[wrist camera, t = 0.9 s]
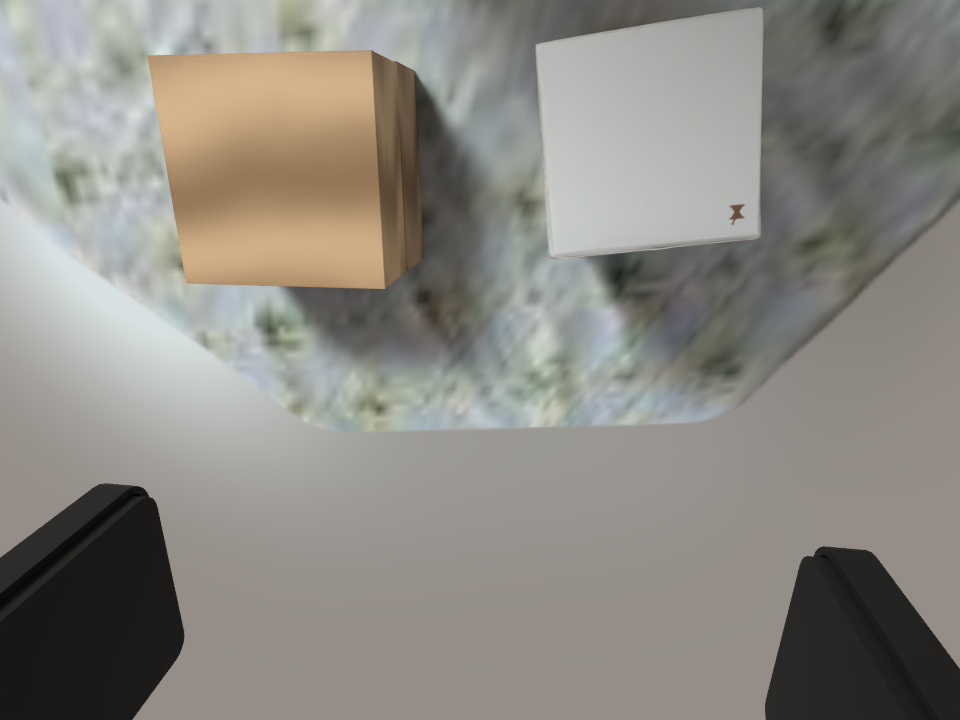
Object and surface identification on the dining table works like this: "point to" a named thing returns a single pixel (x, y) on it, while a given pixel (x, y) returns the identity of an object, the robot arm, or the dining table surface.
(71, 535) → the robot arm
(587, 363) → the dining table surface
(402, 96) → the tower base
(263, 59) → the tower top
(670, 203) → the supplement box
